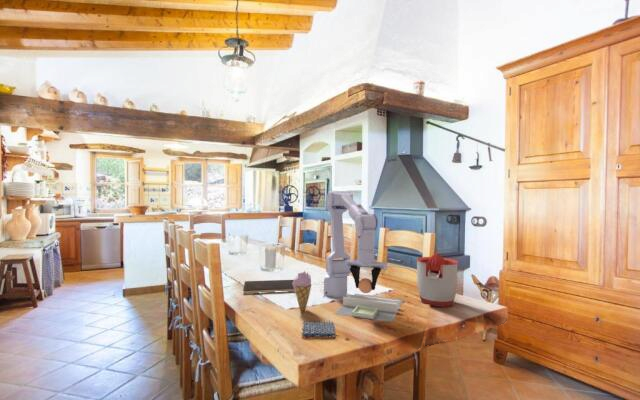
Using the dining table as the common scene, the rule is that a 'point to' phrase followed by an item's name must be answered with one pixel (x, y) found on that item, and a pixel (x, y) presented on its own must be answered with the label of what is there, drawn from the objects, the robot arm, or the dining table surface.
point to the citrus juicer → (437, 280)
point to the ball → (365, 285)
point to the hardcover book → (267, 286)
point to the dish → (365, 312)
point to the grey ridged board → (384, 305)
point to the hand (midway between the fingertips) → (365, 288)
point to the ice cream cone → (302, 289)
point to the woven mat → (318, 330)
